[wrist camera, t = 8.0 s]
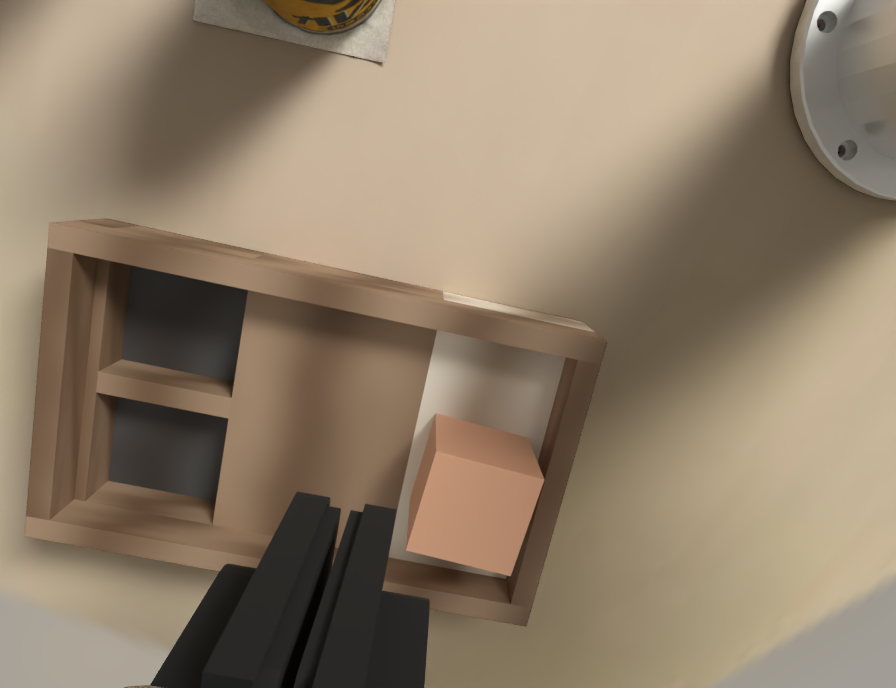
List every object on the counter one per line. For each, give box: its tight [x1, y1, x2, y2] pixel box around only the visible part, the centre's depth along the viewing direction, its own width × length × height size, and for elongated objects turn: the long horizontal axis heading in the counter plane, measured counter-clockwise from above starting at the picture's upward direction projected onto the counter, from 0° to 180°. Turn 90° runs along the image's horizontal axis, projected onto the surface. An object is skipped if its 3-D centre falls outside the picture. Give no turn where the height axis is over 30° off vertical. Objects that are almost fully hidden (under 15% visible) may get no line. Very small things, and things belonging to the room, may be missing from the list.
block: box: [406, 413, 544, 576], centre depth 28 cm, size 4×4×4 cm
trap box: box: [25, 219, 607, 626], centre depth 30 cm, size 23×14×4 cm, turn 78°
